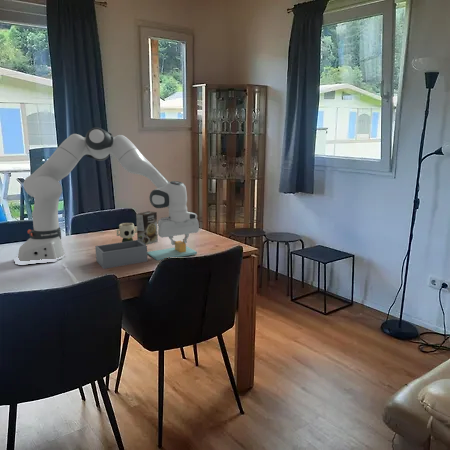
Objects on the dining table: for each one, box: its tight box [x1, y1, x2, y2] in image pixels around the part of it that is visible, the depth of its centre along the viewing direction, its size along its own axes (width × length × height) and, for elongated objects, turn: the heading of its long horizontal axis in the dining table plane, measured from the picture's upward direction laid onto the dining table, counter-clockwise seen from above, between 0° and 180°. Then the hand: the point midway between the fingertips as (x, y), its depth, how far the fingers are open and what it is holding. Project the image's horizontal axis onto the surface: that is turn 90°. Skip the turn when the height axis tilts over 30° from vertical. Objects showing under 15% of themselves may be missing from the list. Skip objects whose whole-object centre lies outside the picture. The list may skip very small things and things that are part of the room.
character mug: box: [116, 222, 137, 242], centre depth 220 cm, size 11×7×13 cm, turn 127°
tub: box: [94, 239, 149, 270], centre depth 200 cm, size 20×12×8 cm, turn 120°
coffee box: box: [135, 210, 159, 246], centre depth 232 cm, size 9×6×16 cm
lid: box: [147, 240, 198, 261], centre depth 212 cm, size 20×12×6 cm, turn 120°
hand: (179, 243), depth 214 cm, fingers open, 5 cm apart
